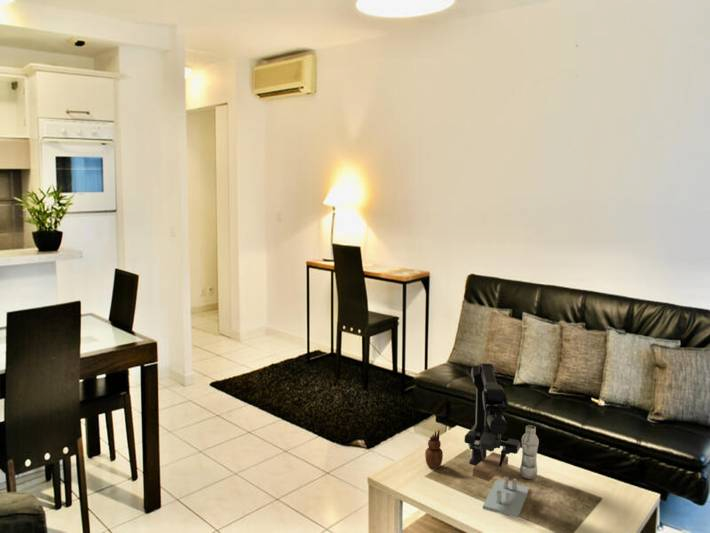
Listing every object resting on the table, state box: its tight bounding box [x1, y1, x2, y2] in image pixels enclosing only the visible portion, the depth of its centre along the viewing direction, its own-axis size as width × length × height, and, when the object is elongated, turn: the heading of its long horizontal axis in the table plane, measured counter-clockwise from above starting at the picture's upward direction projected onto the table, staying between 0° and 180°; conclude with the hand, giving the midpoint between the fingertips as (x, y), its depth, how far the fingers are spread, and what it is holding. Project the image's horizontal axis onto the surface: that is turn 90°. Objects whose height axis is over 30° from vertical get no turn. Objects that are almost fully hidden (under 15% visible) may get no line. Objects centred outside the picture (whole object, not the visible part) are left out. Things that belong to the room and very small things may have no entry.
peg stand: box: [482, 476, 530, 518], centre depth 202 cm, size 20×12×5 cm, turn 153°
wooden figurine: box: [425, 429, 444, 469], centre depth 225 cm, size 7×6×15 cm
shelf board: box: [472, 451, 509, 482], centre depth 203 cm, size 16×6×3 cm, turn 141°
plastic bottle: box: [519, 424, 540, 480], centre depth 217 cm, size 6×7×20 cm
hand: (491, 464), depth 203 cm, fingers closed on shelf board, 6 cm apart
